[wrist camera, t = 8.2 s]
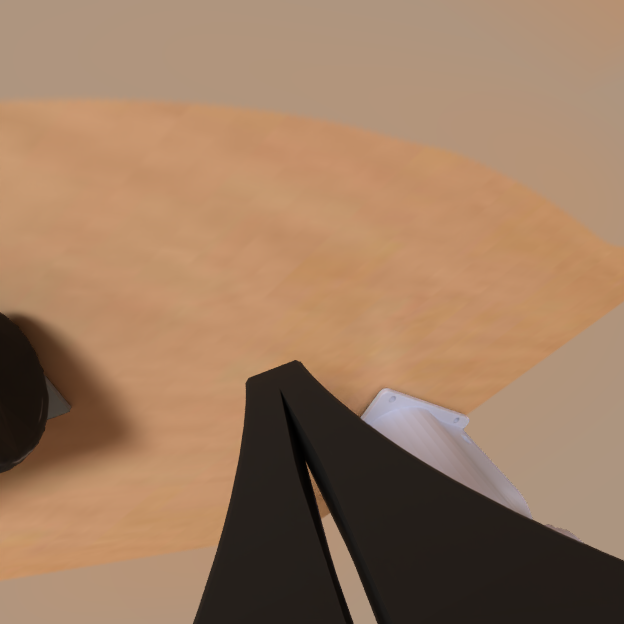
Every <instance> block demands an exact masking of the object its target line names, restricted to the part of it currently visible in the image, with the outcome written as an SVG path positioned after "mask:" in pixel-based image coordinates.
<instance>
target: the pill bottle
mask: <svg viewBox="0 0 624 624" xmlns="http://www.w3.org/2000/svg"><path fill="white" fill-rule="evenodd" d="M48 407H49V394H48V390H47V385H46V380H45V376H44V373H43V369H42V367H41V365H40V363H39V360H38V357H37V355H36V353H35V351H34V349H33V347H32V346H31V344H30V342H29V341H28V339H27V337H26V336H25V335H24V334H23V333H22V331H21V330H20V329H19V327H18V326H17V325H15V324H14V323H13V322H12V321H11V320H10V319H9V318H8V317H6V316H5V315H4V314H2V313H0V473H2V472H5V471H8V470H10V469H11V468H13V467H14V466H16V465H17V464H19V463H21V462H22V461H23V460H24V459H25V458H26V457H27V456H28V455H29V454H30V453H31V452H32V451H33V449H34V448H35V446H36V445H37V444H38V443H39V440H40V439H41V436H42V434H43V432H44V431H45V425H46V421H47V418H48Z"/></svg>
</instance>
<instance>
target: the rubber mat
mask: <svg viewBox="0 0 624 624" xmlns="http://www.w3.org/2000/svg"><path fill="white" fill-rule="evenodd" d="M44 376H45V375H44ZM45 380H46V385H47V390H48V394H49V407H48V418H47V420H48V419H51V418H54V417H56V416H59V415H62V414H65V413H67V412H70V409H71V406H70V405H69V404H68V403H67V401H66V400H65V399H64V398H63V397H62V395H61V394H60V393H59V392H58V391H57V389H56V388H55V387H54V386H53V385H52V383H51V382H50V381H49V380H48V378H47V377H46V376H45Z"/></svg>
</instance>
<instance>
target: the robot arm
mask: <svg viewBox="0 0 624 624" xmlns="http://www.w3.org/2000/svg"><path fill="white" fill-rule="evenodd" d="M468 423H469V418H468V417H467V416H466V415H464V414H461V413H459V412H456V411H453V410H450V409H447V408H444V407H441V406H438V405H435V404H433V403H430V402H427V401H424V400H421V399H418V398H415V397H412V396H409V395H406V394H404V393H401V392H398V391H395V390H392V389H389V388H385V389H382V390H381V391H380V392H379V393H378V394H377V396H376V397H375V398H374V400H373V401H372V403H371V404H370V405H369V407H368V408H367V409H366V411H365V412H364V413H363V415H362V416H361V417H358V416H357V415H356V414H355V413H353V412H352V411H351V410H350V409H348V408H347V407H346V406H345V405H344V404H343V403H341V402H340V401H339V400H338V399H337V398H335V397H334V396H333V395H332V394H331V393H330V392H329V391H328V390H326V389H325V388H324V387H323V386H322V385H321V384H320V383H319V382H318V381H317V380H316V379H315V378H314V377H313V376H312V375H311V374H310V373H309V372H308V370H307V369H306V368H305V367H304V366H303V364H302V363H301V362H299V361H297V360H294V361H292V362H289V363H287V364H284V365H281V366H279V367H276V368H274V369H271V370H268V371H266V372H263V373H261V374H258V375H255V376H253V377H250V378H248V380H247V382H246V407H245V419H244V428H243V435H242V442H241V449H240V455H239V461H238V466H237V471H236V475H235V480H234V485H233V490H232V495H231V499H230V503H229V507H228V511H227V515H226V519H225V523H224V527H223V531H222V534H221V538H220V541H219V545H218V548H217V552H216V555H215V559H214V562H213V565H212V568H211V571H210V574H209V577H208V580H207V583H206V586H205V590H204V593H203V596H202V599H201V602H200V605H199V608H198V611H197V614H196V617H195V619H194V622H193V624H353V620H352V618H351V615H350V612H349V609H348V606H347V603H346V601H345V598H344V595H343V592H342V589H341V586H340V583H339V581H338V577H337V574H336V571H335V568H334V565H333V561H332V558H331V555H330V551H329V547H328V544H327V540H326V536H325V532H324V529H323V525H322V521H321V517H320V513H319V510H318V506H317V502H316V498H315V495H314V491H313V487H312V483H311V480H310V476H309V472H308V468H307V465H308V467H309V469H310V471H311V473H312V475H313V477H314V480H315V482H316V484H317V486H318V488H319V490H320V492H321V494H322V496H323V498H324V500H325V502H326V505H327V507H328V509H329V511H330V513H331V515H332V517H333V519H334V521H335V523H336V525H337V527H338V529H339V532H340V533H341V536H342V538H343V540H344V542H345V544H346V546H347V548H348V551H349V553H350V555H351V558H352V560H353V561H354V564H355V567H356V569H357V572H358V574H359V577H360V580H361V582H362V584H363V587H364V590H365V592H366V595H367V598H368V600H369V603H370V605H371V608H372V611H373V613H374V616H375V618H376V621H377V623H378V624H624V561H623V560H621V559H619V558H616V557H614V556H612V555H609V554H607V553H604V552H602V551H600V550H598V549H595V548H593V547H591V546H589V545H586V544H584V543H583V542H582V541H581V540H580V539H579V538H577V537H576V536H575V535H574V534H572V533H571V532H570V531H568V530H564V529H561V528H555V527H553V526H552V525H549V524H547V525H542V524H540V523H538V522H536V521H534V520H533V519H532V516H531V512H530V509H529V507H528V505H527V503H526V501H525V499H524V497H523V496H522V494H521V493H520V492H519V491H518V489H517V488H516V487H515V486H514V485H513V484H512V483H511V482H510V481H509V479H508V478H507V477H506V476H505V475H504V474H503V473H502V472H501V471H500V470H499V468H498V467H497V466H496V465H495V464H494V463H493V462H492V461H491V460H490V459H489V457H488V456H487V455H486V454H485V453H484V452H483V451H482V450H481V449H480V448H479V447H478V446H477V444H476V443H475V442H474V441H473V440H472V439H471V438H470V437H469V436H468V435H467V433H466V432H465V431H464V430H463V429H464V428H465V427H466V425H467V424H468ZM306 463H307V465H306Z"/></svg>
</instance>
